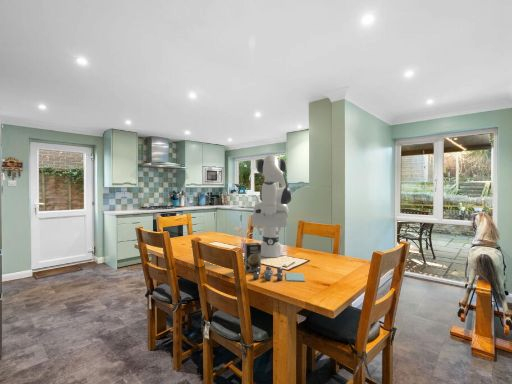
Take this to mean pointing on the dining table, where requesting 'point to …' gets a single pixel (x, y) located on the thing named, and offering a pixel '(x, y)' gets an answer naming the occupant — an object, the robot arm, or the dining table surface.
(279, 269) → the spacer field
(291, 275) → the board
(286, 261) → the dining table surface
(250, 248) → the coffee box
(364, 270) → the dining table surface
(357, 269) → the dining table surface
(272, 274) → the grey hexagonal block
